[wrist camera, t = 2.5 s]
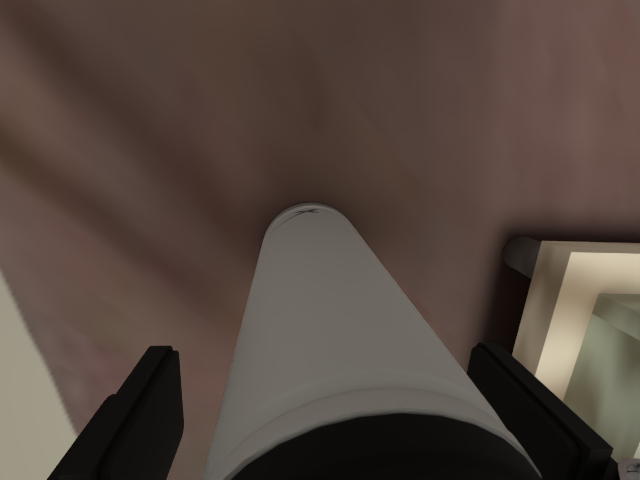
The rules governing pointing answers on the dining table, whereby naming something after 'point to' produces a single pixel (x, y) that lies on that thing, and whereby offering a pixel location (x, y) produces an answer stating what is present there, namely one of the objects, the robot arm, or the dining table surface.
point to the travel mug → (347, 374)
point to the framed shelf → (584, 331)
